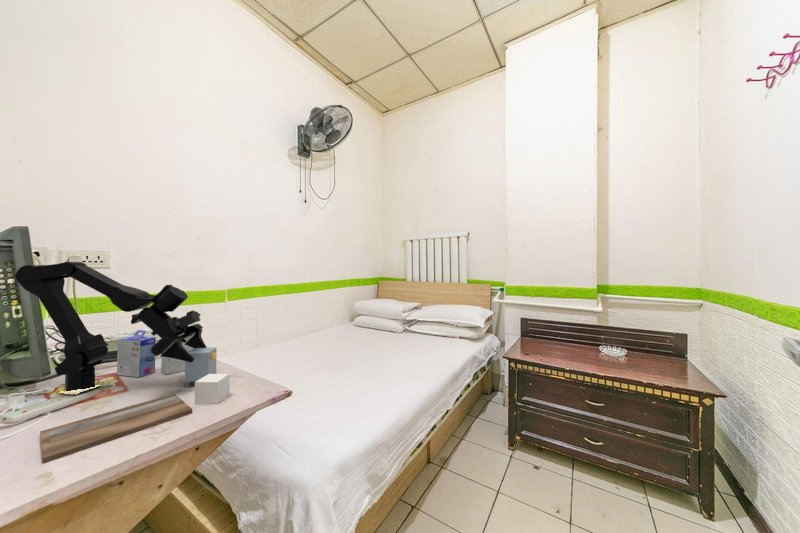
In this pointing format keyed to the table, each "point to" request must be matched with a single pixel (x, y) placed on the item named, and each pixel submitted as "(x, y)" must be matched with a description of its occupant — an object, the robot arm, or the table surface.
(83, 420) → the rail board
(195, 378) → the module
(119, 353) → the ink cartridge box
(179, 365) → the skincare box
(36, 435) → the table surface
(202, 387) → the white cube
